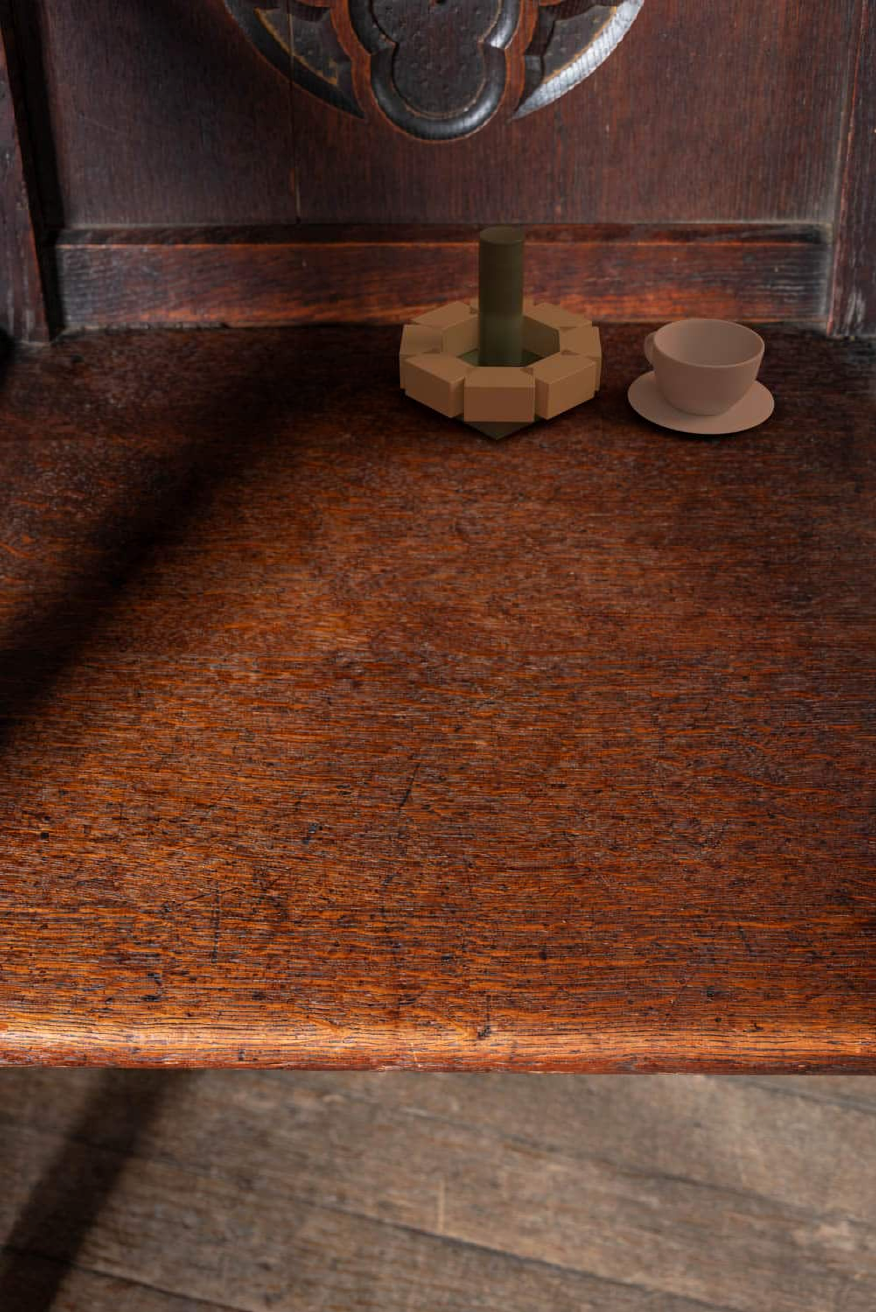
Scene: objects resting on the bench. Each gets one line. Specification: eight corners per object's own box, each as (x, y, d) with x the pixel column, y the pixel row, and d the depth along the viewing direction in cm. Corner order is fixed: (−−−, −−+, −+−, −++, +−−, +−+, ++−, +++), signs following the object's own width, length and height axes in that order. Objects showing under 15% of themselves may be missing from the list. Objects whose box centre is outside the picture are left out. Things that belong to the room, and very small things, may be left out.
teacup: (801, 403, 87) (813, 341, 84) (715, 456, 82) (725, 391, 79) (684, 358, 93) (692, 297, 90) (597, 404, 87) (602, 342, 84)
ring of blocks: (362, 372, 88) (360, 338, 87) (500, 315, 95) (501, 282, 94) (498, 443, 80) (499, 407, 79) (638, 376, 87) (641, 341, 86)
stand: (408, 393, 89) (404, 233, 82) (500, 354, 94) (503, 199, 86) (497, 440, 84) (500, 273, 76) (589, 396, 88) (600, 235, 81)
